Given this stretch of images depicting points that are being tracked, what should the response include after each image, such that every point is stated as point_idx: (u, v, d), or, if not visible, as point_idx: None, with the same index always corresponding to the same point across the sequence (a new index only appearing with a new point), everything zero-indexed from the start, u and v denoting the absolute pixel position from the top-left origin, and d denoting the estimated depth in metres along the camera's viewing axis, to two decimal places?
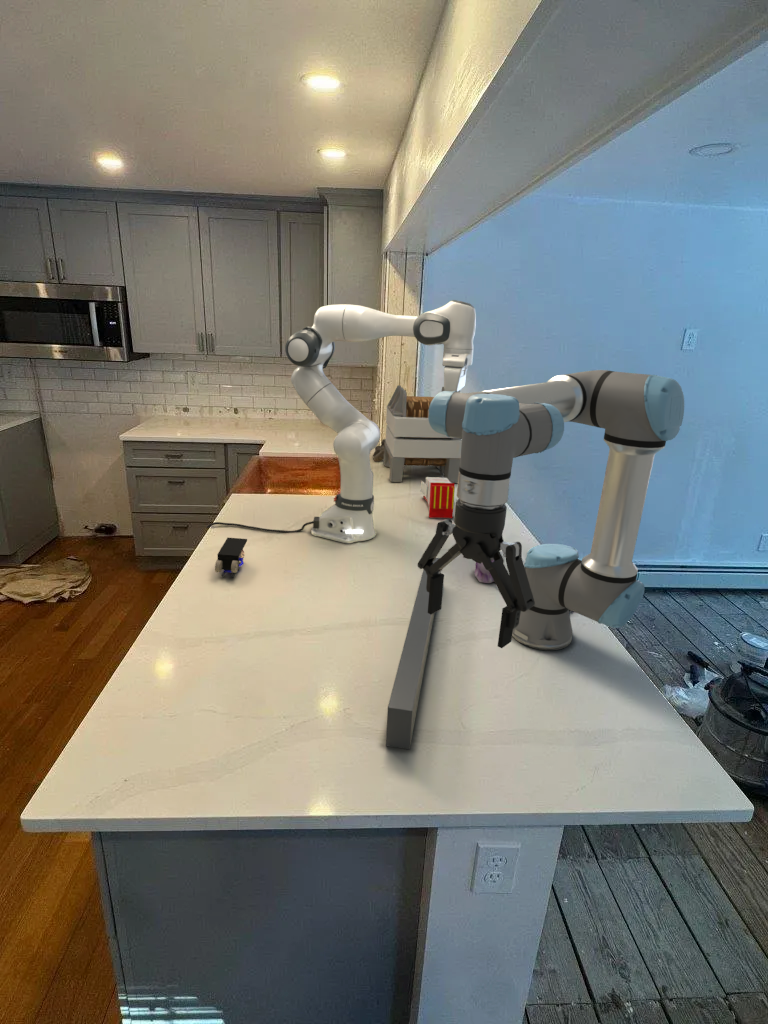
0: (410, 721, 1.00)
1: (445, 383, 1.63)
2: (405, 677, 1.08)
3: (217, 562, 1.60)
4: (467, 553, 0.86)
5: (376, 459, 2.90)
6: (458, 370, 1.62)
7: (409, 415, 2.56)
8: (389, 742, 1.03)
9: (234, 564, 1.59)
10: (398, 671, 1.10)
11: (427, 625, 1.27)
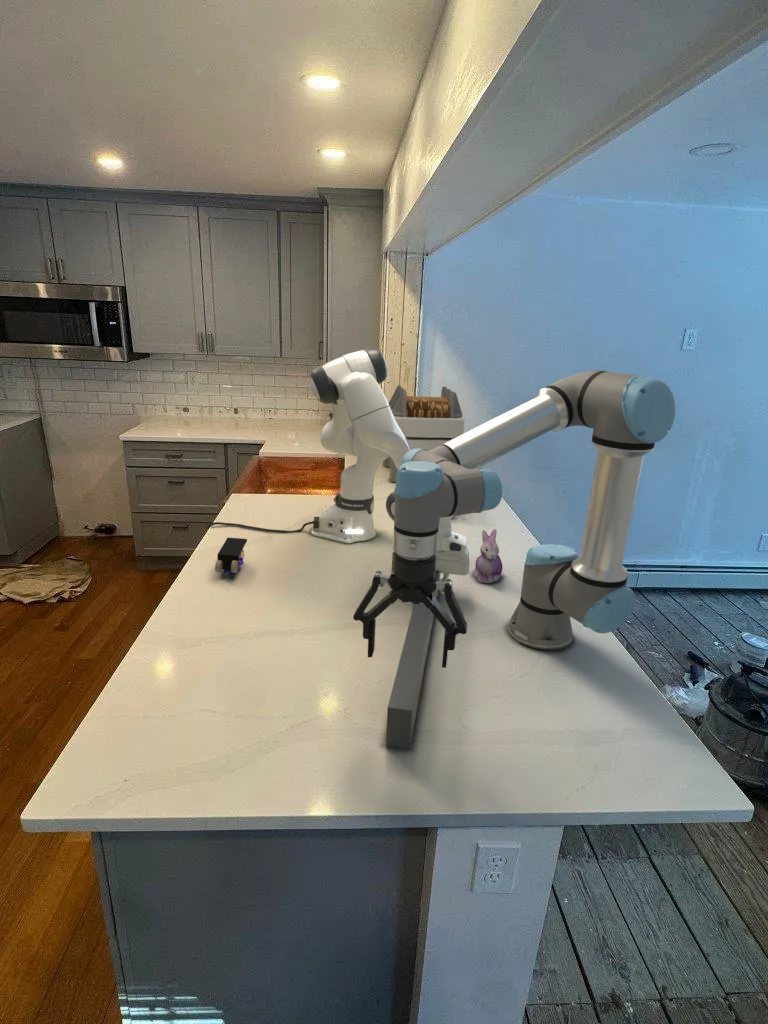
0: (410, 721, 1.00)
1: None
2: (405, 677, 1.08)
3: (217, 562, 1.60)
4: (406, 598, 0.99)
5: None
6: (467, 548, 1.53)
7: (409, 415, 2.56)
8: (389, 742, 1.03)
9: (234, 564, 1.59)
10: (398, 671, 1.10)
11: (427, 625, 1.27)
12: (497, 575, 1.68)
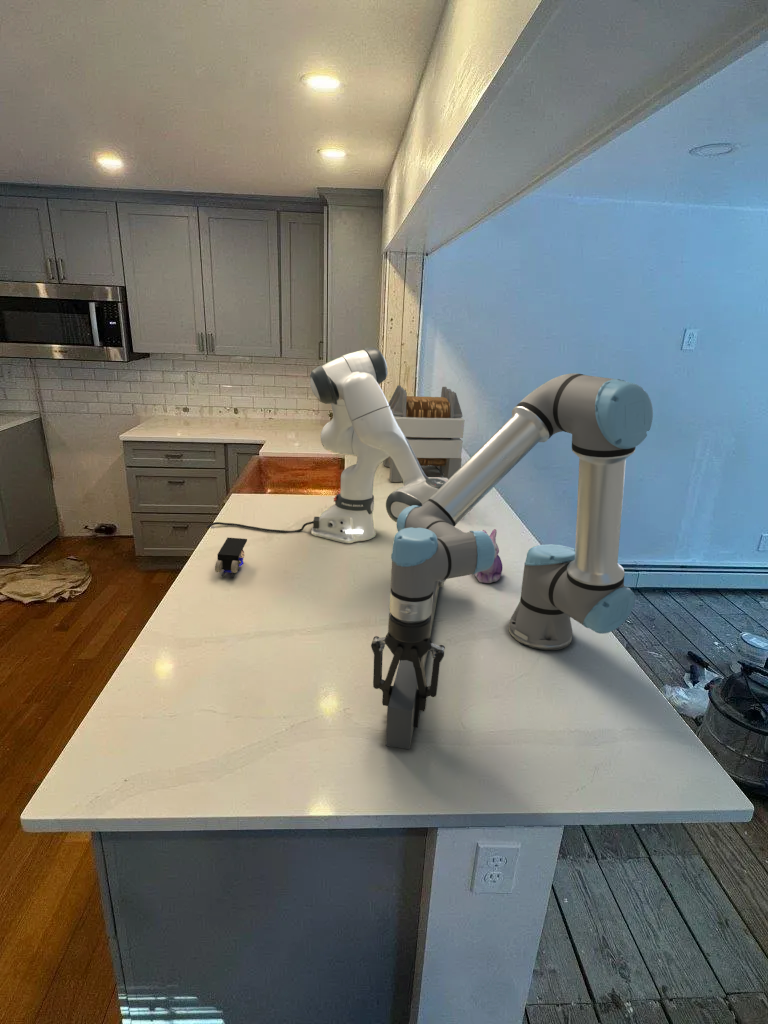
0: (410, 721, 1.00)
1: None
2: (405, 677, 1.08)
3: (217, 562, 1.60)
4: (402, 656, 1.03)
5: None
6: None
7: (409, 415, 2.56)
8: (389, 742, 1.03)
9: (234, 564, 1.59)
10: (398, 671, 1.10)
11: None
12: (497, 575, 1.68)
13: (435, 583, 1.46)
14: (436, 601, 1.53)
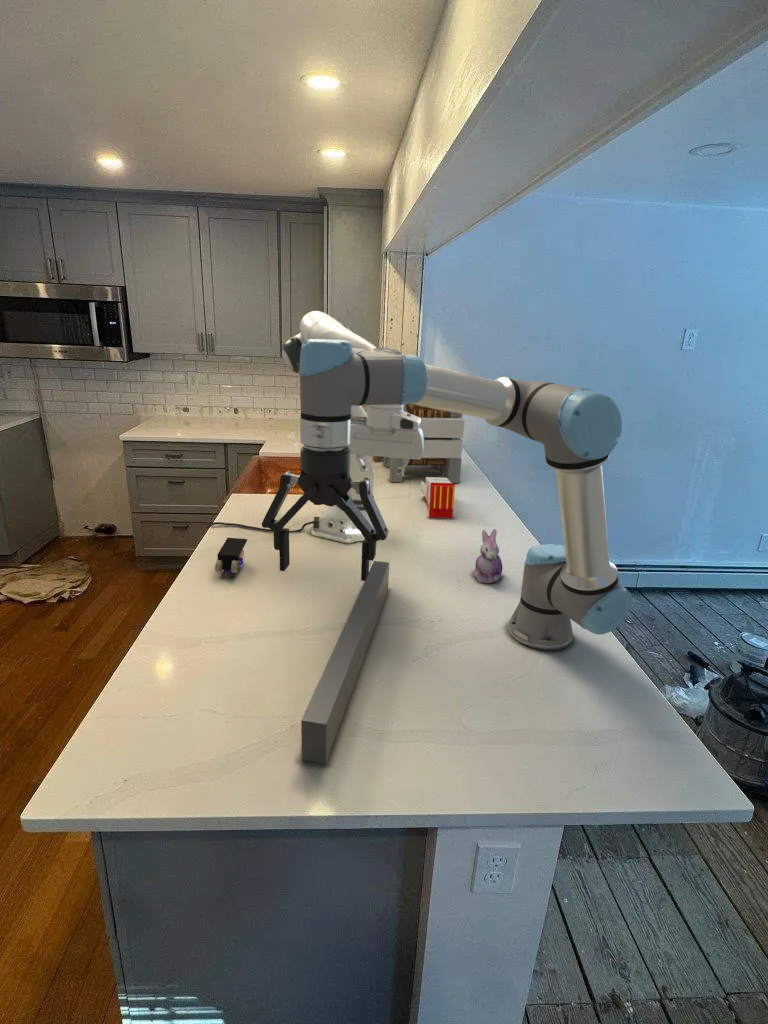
0: (325, 735, 0.96)
1: (422, 448, 1.36)
2: (325, 688, 1.04)
3: (217, 562, 1.60)
4: (318, 499, 0.88)
5: (376, 459, 2.90)
6: (421, 430, 1.38)
7: None
8: (305, 757, 0.98)
9: (234, 564, 1.59)
10: (320, 682, 1.06)
11: (360, 633, 1.22)
12: (497, 575, 1.68)
13: (377, 588, 1.42)
14: (381, 607, 1.49)
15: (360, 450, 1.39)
